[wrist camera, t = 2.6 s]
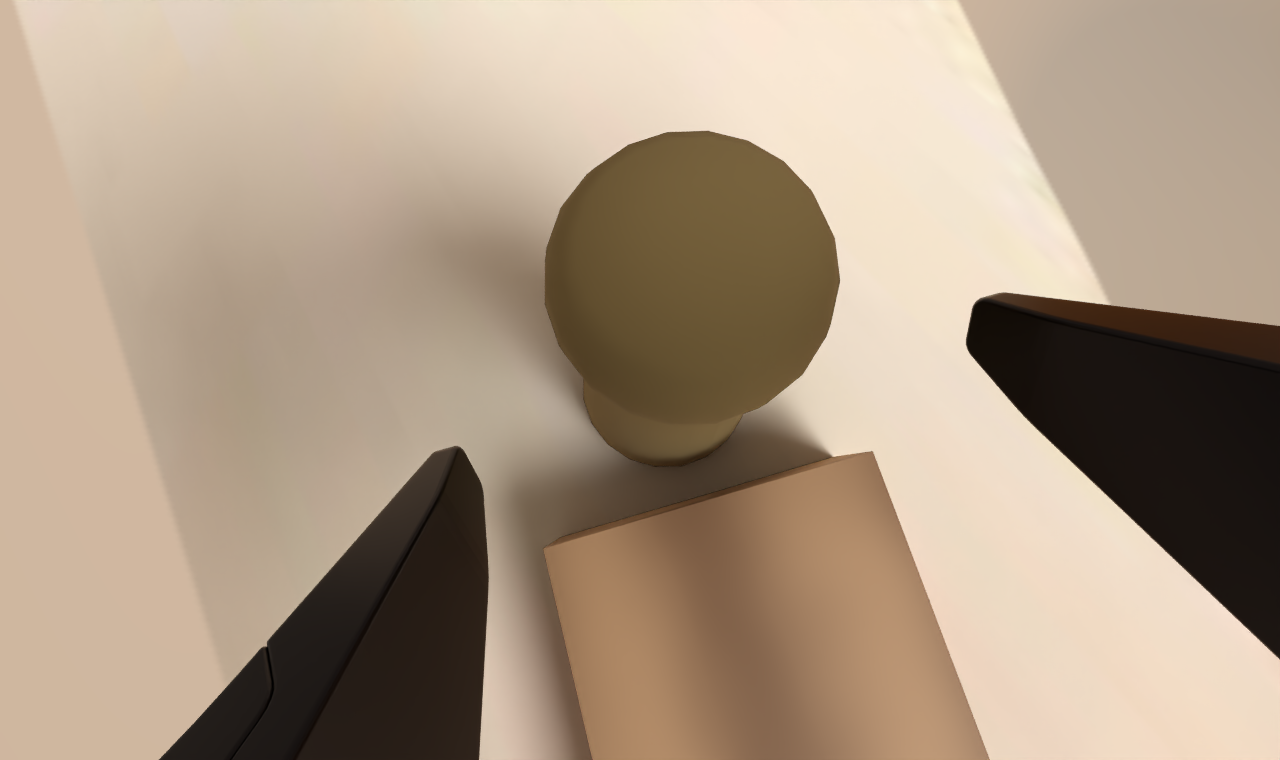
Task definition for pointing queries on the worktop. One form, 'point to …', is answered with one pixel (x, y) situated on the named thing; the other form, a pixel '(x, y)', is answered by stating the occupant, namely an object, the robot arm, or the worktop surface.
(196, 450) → the worktop surface
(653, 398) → the cork
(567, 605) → the base block
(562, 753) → the worktop surface
